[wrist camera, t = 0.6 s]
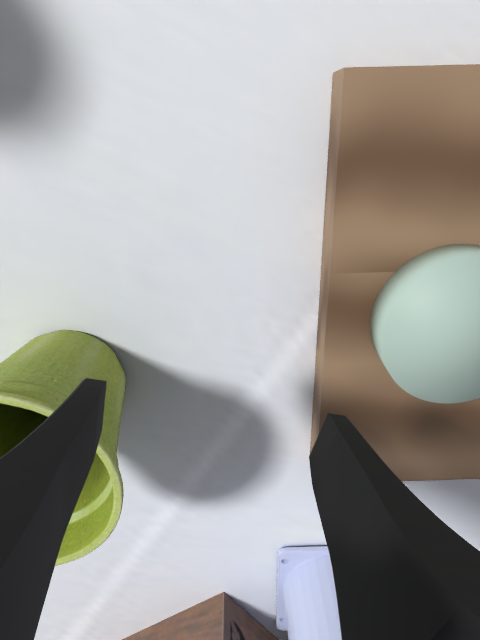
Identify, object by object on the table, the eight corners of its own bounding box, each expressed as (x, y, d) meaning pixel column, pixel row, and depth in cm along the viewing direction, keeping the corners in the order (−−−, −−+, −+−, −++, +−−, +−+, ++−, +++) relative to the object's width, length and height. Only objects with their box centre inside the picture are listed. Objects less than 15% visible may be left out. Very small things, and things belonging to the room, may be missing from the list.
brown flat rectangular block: (491, 454, 28) (510, 477, 26) (309, 460, 28) (315, 483, 26) (606, 66, 19) (646, 60, 17) (332, 73, 18) (344, 67, 17)
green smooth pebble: (502, 379, 23) (526, 401, 21) (362, 383, 23) (373, 405, 21) (541, 241, 20) (572, 253, 18) (379, 245, 20) (393, 258, 18)
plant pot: (180, 340, 24) (156, 447, 16) (125, 457, 27) (82, 592, 20) (13, 273, 22) (-108, 356, 14) (-24, 407, 26) (-137, 534, 18)
